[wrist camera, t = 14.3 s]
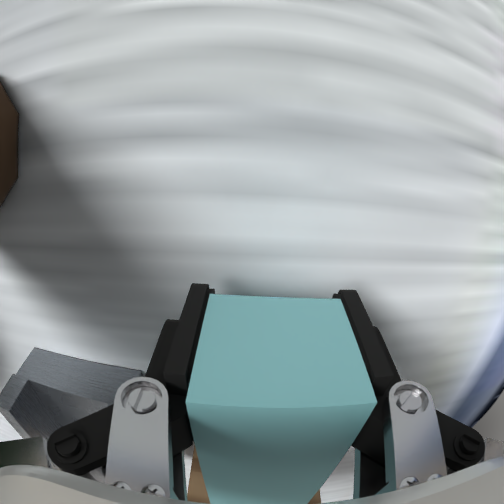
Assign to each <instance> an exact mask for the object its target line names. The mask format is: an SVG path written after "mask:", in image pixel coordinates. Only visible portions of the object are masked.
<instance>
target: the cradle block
mask: <svg viewBox="0 0 504 504" xmlns="http://www.w3.org/2000/svg"><path fill="white" fill-rule="evenodd" d="M136 377H143V376H142V373H141V371H139V370H133V369H127V368H121V367H116V366H110V365H105V364H100V363H95V362H91V361H86V360H81V359H77V358H73V357H69V356H65V355H61V354H57V353H53V352H49V351H45V350H42V349H38V348H35V347H34V349H33V350H32V352H31V353H30V355H29V356H28V357H27V359H26V360H25V362H24V363H23V365H22V366H21V368H20V369H19V371H18V372H17V374H16V375H15V374H13V375H12V376H11V378H10V379H9V381H8V382H7V384H6V386H5V387H4V389H3V390H2V392H1V394H0V412H1V413H2V414H3V416H4V417H5V418H6V419H7V421H8V422H9V423H10V424H11V425H12V426H13V428H14V429H15V430H16V431H17V432H18V433H19V434H20V435H21V436H22V438H23V439H26V438H32V437H38V436H43V437H44V438H45V439H46V438H49V437H50V435H51V434H52V433H53V432H54V431H55V430H57V429H59V428H60V427H63V426H65V425H67V424H70V423H72V422H74V421H77V420H79V419H81V418H84V417H86V416H88V415H90V414H93V413H95V412H97V411H99V410H101V409H104V408H106V407H108V406H110V405H112V404H114V400H115V395H116V392H117V390H118V389H119V387H120V386H121V385H122V384H123V383H125V382H126V381H128V380H130V379H133V378H136Z"/></svg>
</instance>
